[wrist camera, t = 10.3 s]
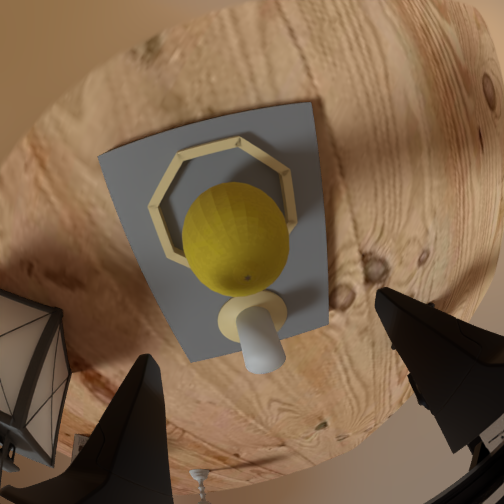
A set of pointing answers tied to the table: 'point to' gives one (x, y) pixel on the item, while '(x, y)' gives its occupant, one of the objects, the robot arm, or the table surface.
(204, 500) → the chalice
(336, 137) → the table surface
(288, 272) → the board
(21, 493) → the robot arm
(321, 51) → the table surface
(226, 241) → the lemon
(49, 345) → the lantern
